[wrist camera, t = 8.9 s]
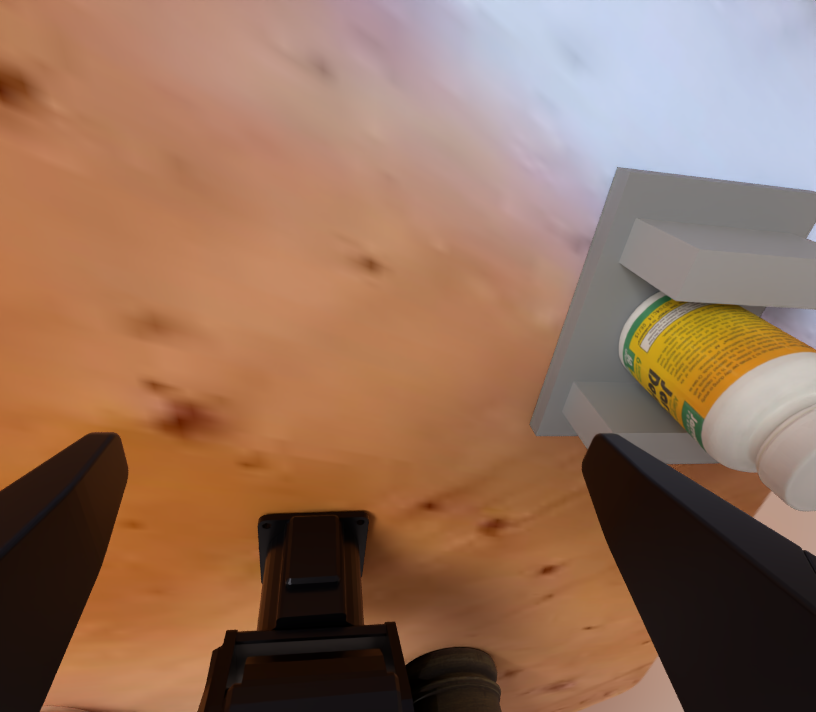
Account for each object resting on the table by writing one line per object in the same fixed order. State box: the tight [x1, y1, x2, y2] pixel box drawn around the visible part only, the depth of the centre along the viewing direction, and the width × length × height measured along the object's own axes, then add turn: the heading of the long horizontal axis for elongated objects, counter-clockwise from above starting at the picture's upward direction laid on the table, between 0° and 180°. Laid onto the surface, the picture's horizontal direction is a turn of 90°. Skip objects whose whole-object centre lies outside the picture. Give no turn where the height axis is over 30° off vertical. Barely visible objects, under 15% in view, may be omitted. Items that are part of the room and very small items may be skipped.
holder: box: [530, 167, 816, 464], centre depth 22 cm, size 14×10×5 cm
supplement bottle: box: [619, 291, 816, 511], centre depth 19 cm, size 5×5×10 cm
